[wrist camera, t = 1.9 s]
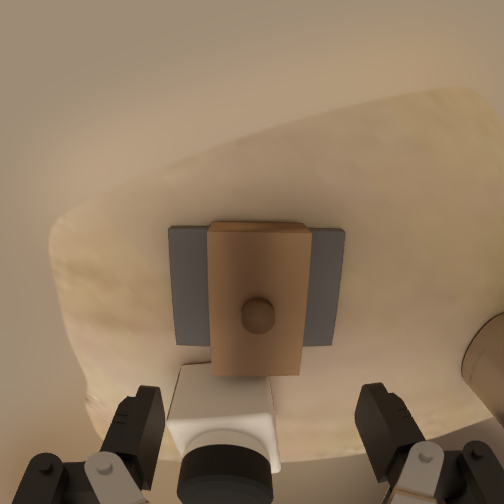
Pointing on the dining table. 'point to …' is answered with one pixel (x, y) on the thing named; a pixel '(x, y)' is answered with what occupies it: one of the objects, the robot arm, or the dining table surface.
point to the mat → (197, 297)
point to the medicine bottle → (224, 437)
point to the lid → (257, 297)
